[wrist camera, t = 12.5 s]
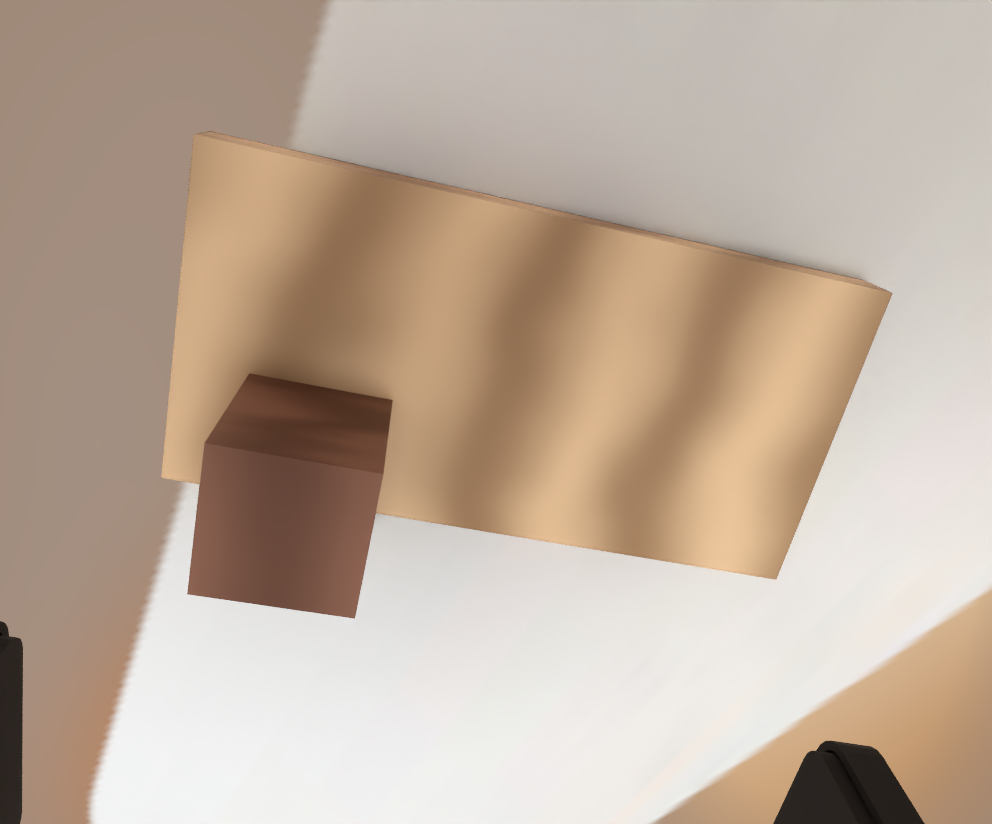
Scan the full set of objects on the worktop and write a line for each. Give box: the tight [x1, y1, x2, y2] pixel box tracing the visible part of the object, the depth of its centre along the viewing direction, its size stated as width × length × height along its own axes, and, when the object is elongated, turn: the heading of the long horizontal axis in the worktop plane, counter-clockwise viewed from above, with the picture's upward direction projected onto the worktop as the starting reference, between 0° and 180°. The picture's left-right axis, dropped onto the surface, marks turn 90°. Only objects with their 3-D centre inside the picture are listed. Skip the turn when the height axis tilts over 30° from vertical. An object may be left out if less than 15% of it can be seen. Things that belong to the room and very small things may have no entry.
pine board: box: [161, 131, 892, 579], centre depth 30 cm, size 24×12×2 cm, turn 77°
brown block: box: [187, 373, 393, 618], centre depth 28 cm, size 5×6×8 cm
